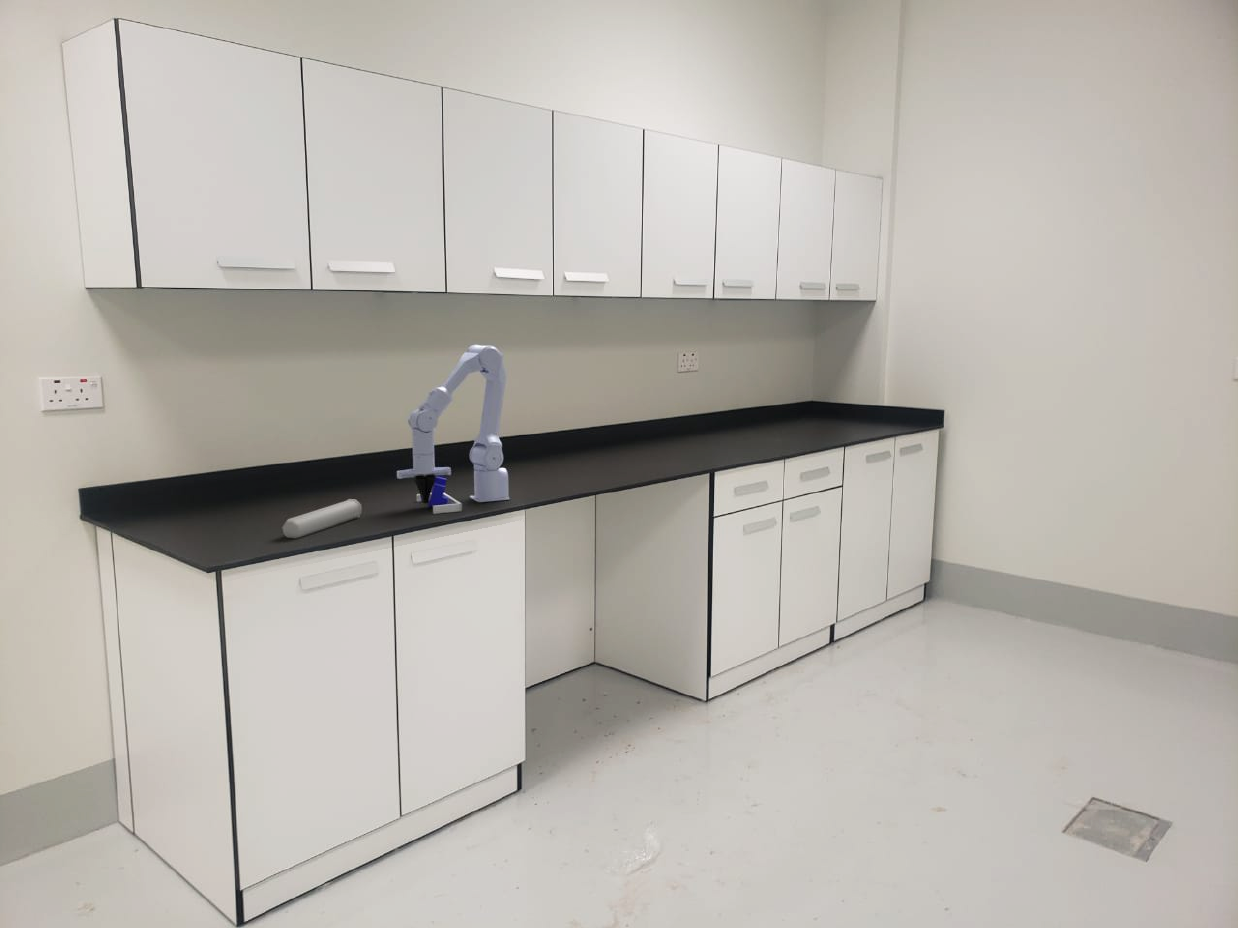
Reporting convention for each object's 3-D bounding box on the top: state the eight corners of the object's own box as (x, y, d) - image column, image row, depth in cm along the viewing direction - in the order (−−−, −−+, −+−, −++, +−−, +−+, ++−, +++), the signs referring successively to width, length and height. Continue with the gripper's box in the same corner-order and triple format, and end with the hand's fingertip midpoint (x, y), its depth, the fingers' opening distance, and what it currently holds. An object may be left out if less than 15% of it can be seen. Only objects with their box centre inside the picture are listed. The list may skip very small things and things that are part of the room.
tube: (298, 525, 206) (364, 503, 229) (280, 516, 207) (347, 495, 230) (293, 545, 207) (359, 521, 230) (275, 536, 209) (343, 513, 232)
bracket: (443, 498, 254) (443, 492, 254) (462, 510, 238) (461, 503, 238) (416, 501, 250) (416, 494, 250) (433, 513, 235) (433, 506, 235)
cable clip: (444, 509, 240) (450, 488, 240) (428, 505, 239) (434, 484, 239) (446, 500, 252) (452, 480, 251) (430, 496, 251) (436, 476, 250)
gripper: (445, 449, 247) (446, 497, 249) (393, 453, 240) (395, 501, 243) (452, 453, 241) (453, 501, 243) (399, 456, 234) (401, 506, 236)
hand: (425, 502), depth 242 cm, fingers closed
